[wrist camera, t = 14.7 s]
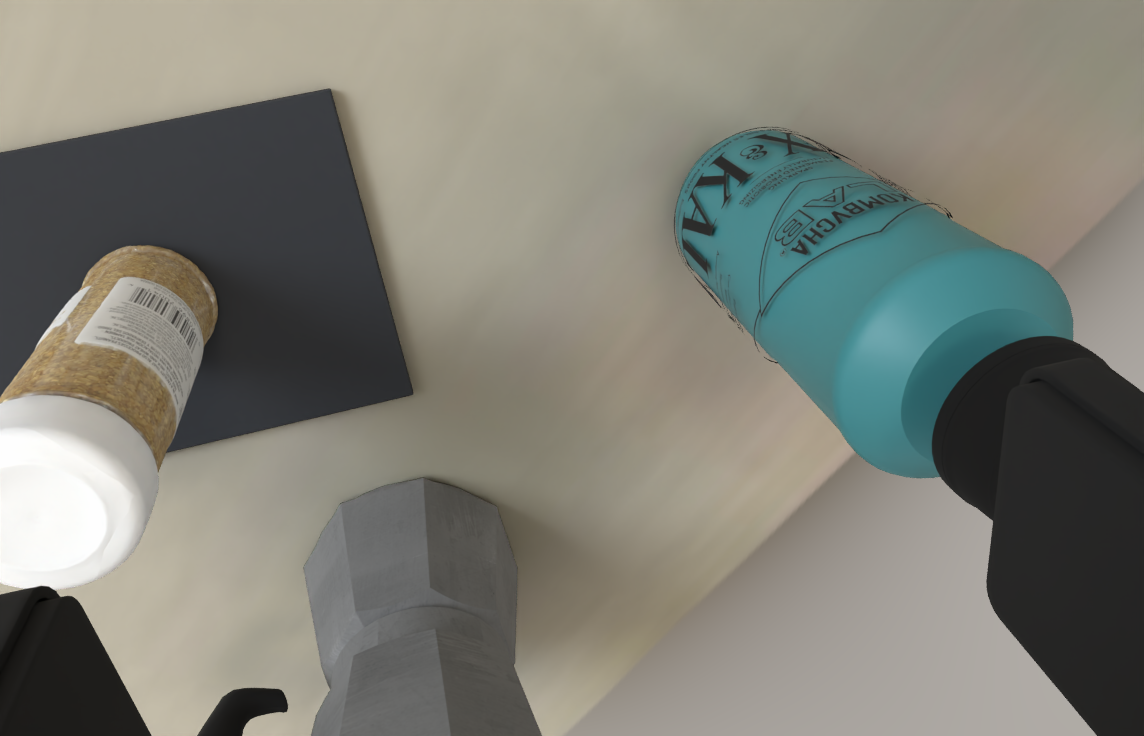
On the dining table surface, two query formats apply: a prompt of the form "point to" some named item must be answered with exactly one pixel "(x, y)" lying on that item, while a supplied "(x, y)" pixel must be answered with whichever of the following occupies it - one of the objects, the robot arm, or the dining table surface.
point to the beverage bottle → (874, 304)
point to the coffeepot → (408, 621)
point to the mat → (216, 255)
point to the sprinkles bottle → (98, 417)
